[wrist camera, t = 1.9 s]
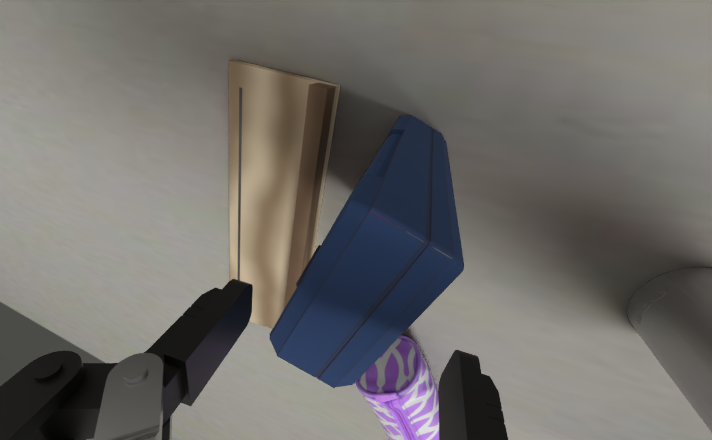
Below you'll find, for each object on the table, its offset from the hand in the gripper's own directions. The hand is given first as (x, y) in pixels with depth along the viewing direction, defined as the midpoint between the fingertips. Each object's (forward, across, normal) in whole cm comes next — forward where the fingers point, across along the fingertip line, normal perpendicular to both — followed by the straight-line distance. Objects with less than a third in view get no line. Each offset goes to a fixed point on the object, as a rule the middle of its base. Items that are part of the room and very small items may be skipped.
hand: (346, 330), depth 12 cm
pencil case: (+21, -10, +30) cm, 38 cm away
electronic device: (+21, 0, 0) cm, 21 cm away
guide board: (+21, +12, +10) cm, 26 cm away
